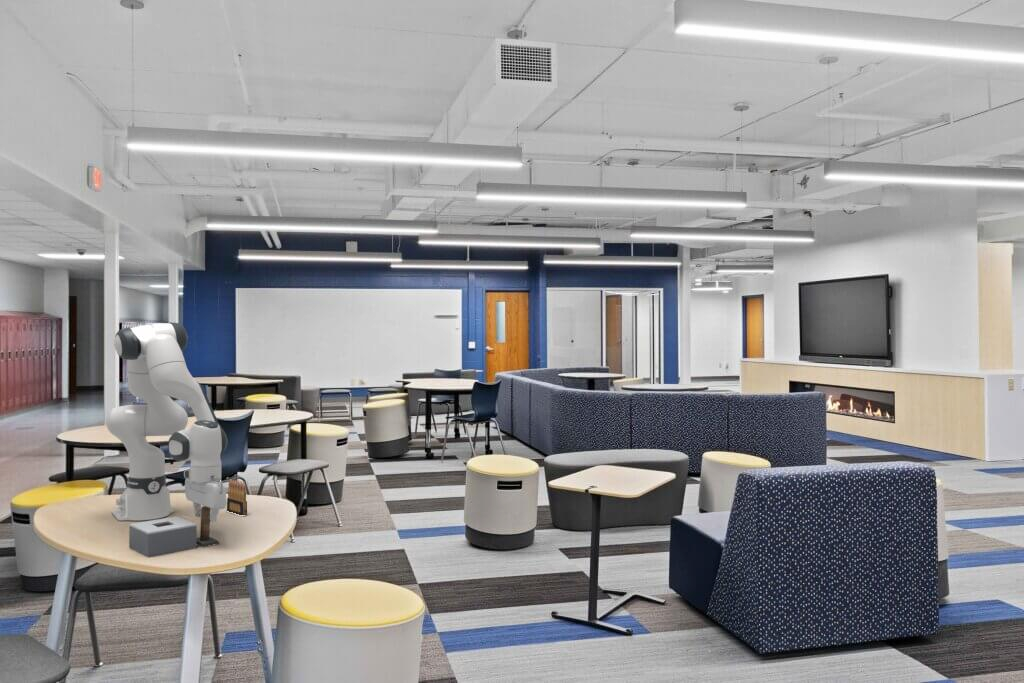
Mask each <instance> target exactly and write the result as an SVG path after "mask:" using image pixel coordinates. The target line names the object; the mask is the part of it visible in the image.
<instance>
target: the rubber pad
mask: <svg viewBox="0 0 1024 683" xmlns="http://www.w3.org/2000/svg"><path fill="white" fill-rule="evenodd" d="M213 544H217V545H219V544H220V540H218V539H215V538H213V537H211V536H209V540H208V541H200V536H199V537H197V544H196V546H199V545H200V546H199V547H201V546H203V547H202V548H205V547H204V546H207V547H209V546H208V545H212V546H214V545H213Z"/></svg>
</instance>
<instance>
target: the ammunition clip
mask: <svg viewBox="0 0 1024 683" xmlns="http://www.w3.org/2000/svg"><path fill="white" fill-rule="evenodd" d="M227 511H229V512H233V513H236V514H239V515H247V516H248V501H247V489H246V483H245V481H240V480H236V479H235V480H234V479H232V478H230V479H229V481H228V491H227V497H226V512H227Z"/></svg>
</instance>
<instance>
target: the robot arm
mask: <svg viewBox="0 0 1024 683" xmlns="http://www.w3.org/2000/svg"><path fill="white" fill-rule="evenodd" d="M113 342H114V349H115V351H116V353H117V355H118V356H119V357H120V358H121V359H122V360H126V371H127V387H128V390H129V392H130V393H131V395H132V396H134V397H136V398H138V399H140V400H142V401H144V402H145V403H146V404H126V405H121V406H116V407H113V408H111V410H110V411H109V412H108V414H107V416H106V420H105V425H106V428H107V430H108V432H109V433H110V434H111V435H112V436H114V437H116V438H117V439H118V440H119V441H120V442H121V443H122V444H123V445H124V448H125V449H126V451H127V455H128V461H129V463H128V465H129V476H128V478H127V482H126V488H125V490H124V491H123V492H122V493H121V494H120V496H119V498H116V502H115V503H116V506H117V508H115V509H112V510H111V513H112V515H113V516H114V517H115V519H116V520H117V521H121V522H122V521H151V520H157V519H163V518H164V517H165V518H166V517H167V516H169V515H170V514H172V513H173V514H174V512H175V508H172V507H171V506H172V505H171V491H170V489H169V488H167V487H166V485H167V475H166V474H165V468H166V466H165V465H166V464H165V463H166V461H165V458H166V456H165V453H164V451H163V450H162V449H161V448H159V447H157V446H155V445H153V444H151V443H149V442H148V440H147V437H164V436H165V437H167V436H170V437H169V439H168V442H167V452H168V454H169V455H170V457H171V458H172V459H173V460H175V461H176V462H188V461H189V462H190V468H188V469H186V470H184V471H183V478H185V480H184V491H185V492H184V493H185V494H184V495H185V498H186V500H187V501H190V502H192V507H193V510H194V516H195V517H196V518H199V517H200V518H201V507H203V506H206V507H209V508H210V516H209V522H210V523H216V522H217V521H218V519H217V518H218V514H219V512H220V510H222V509H225V508H227V492H226V491H227V490H226V486H225V485H226V484H224V483H223V482H222V460H221V456H222V455H223V454H224V452H225V451H226V450H227V446H228V442H229V441H228V437H227V434H226V432H225V431H224V429H223V428H222V426H221V425H220V423H219V421H218V418H217V416H216V413H215V411H214V409H213V407H212V405H211V403H210V401H209V398H208V396H207V394H206V392H205V389H204V388H203V386H202V385H201V383H200V382H199V381H197V380H196V379H195V378H194V377H193V376H192V374H191V372H190V371H189V369H188V367H187V364H186V360H185V356H184V355H183V354H184V353H183V351H184V350H185V349H186V348H187V346H188V333H187V330H186V328H185V327H184V325H182V324H181V323H179V322H167V323H162V322H160V323H159V322H157V323H149V324H144V325H138V326H134V327H124V328H122V329H119V330H118V331H116V333H115V336H114V341H113ZM172 398H174V399H176V400H180V401H182V402H184V403H185V404H187V405H188V406H189V407H190V408H191V410H192V412H193V414H194V417H195V419H196V421H194V422H193V423H192V424H191V425H190V426H189V427H187V425H188V423H189V417H188V416H189V415H188V413H187V411H186V410H185V408H184V407H182V406H181V405H180V404H177V402H176V401H174V400H173V399H172ZM118 506H119V507H118Z"/></svg>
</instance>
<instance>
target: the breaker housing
mask: <svg viewBox="0 0 1024 683" xmlns="http://www.w3.org/2000/svg"><path fill="white" fill-rule="evenodd" d="M197 527H198V526H197V523H194V522H192V521H189V520H187V519H185V518H182V517H179V516H170V517H165V518H164V517H162V518H157V519H151V520H144V521H139V522H133V523H129V526H128V528H129V531H128V546H129V547H130V548H129V547H128V548H129V549H131V550H133V551H135V552H137V553H139V554H141V555H143V556H145V557H147V558H151V557H156V556H161V555H166V554H172V553H177V552H181V551H186V550H192V549H196V548H197V538H198V537H197V536H198V535H197V533H198V532H197ZM195 547H196V548H195ZM191 548H192V549H191Z"/></svg>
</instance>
